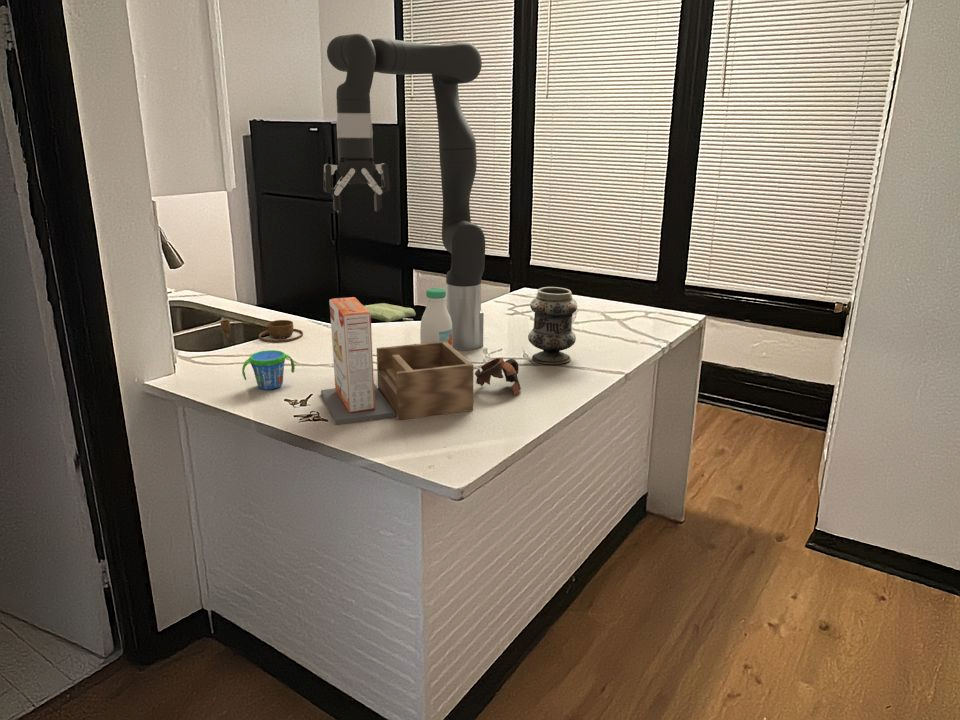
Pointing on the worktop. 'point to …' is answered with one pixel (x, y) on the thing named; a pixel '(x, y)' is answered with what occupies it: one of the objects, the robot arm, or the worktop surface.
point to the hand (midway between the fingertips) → (358, 212)
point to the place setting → (271, 330)
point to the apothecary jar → (552, 325)
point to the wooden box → (426, 380)
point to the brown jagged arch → (499, 372)
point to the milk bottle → (436, 319)
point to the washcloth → (389, 312)
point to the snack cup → (268, 368)
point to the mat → (344, 416)
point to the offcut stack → (397, 367)
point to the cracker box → (352, 353)
